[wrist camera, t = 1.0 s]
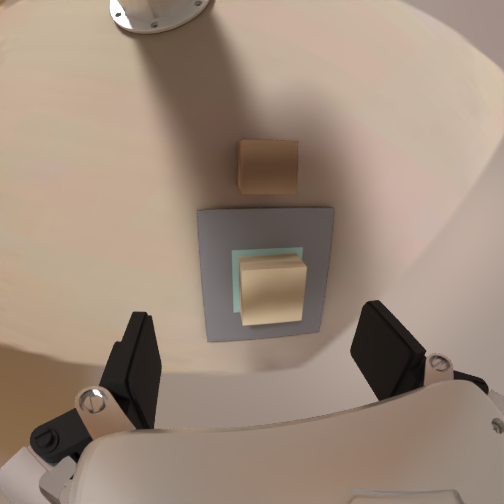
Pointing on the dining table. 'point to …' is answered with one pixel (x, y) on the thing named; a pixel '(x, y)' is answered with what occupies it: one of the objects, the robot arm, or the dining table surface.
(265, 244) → the build mat
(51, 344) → the dining table surface
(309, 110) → the dining table surface
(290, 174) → the walnut block
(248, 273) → the maple block
